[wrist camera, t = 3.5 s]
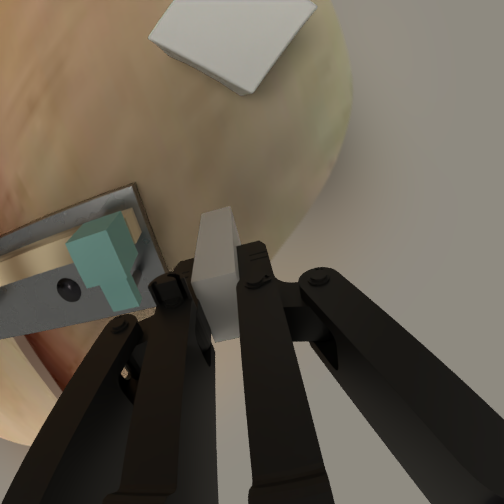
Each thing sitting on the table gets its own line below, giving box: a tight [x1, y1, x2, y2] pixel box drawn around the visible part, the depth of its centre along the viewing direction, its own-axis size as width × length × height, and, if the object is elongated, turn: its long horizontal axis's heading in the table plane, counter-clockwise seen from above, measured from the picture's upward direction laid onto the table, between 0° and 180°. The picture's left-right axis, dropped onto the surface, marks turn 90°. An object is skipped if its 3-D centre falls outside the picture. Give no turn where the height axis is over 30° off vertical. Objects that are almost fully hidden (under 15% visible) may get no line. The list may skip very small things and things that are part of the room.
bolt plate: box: [0, 183, 169, 339], centre depth 24 cm, size 24×10×1 cm, turn 104°
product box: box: [148, 0, 317, 96], centre depth 15 cm, size 6×6×7 cm
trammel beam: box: [0, 208, 142, 287], centre depth 21 cm, size 23×6×5 cm, turn 104°
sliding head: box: [65, 211, 142, 312], centre depth 21 cm, size 3×6×5 cm, turn 13°
